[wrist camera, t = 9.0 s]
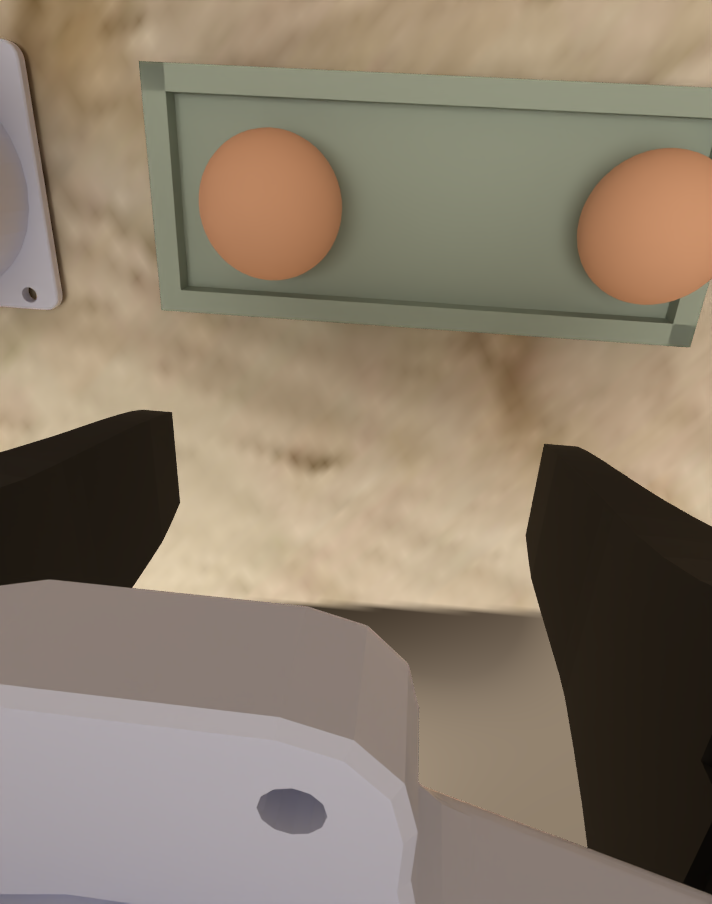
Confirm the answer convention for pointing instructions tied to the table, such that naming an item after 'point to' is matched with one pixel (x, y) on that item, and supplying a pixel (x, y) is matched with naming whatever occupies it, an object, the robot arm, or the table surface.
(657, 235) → the terracotta ball
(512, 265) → the trough green
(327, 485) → the table surface
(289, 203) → the terracotta ball
